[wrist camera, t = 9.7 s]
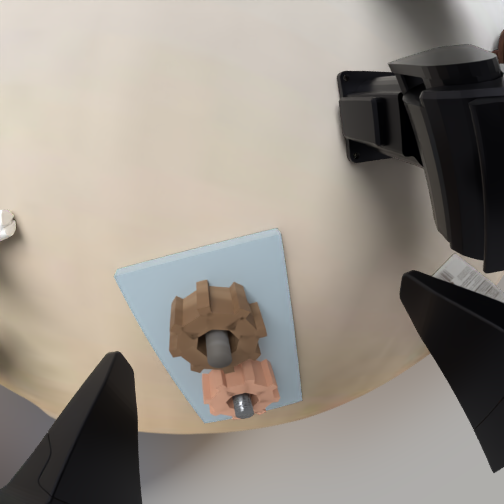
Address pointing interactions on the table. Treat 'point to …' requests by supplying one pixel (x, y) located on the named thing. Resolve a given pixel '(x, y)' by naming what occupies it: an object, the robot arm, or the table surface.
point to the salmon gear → (240, 387)
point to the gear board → (219, 275)
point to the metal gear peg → (243, 405)
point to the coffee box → (468, 278)
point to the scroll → (500, 49)
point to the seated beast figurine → (6, 224)
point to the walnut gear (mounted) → (215, 328)
